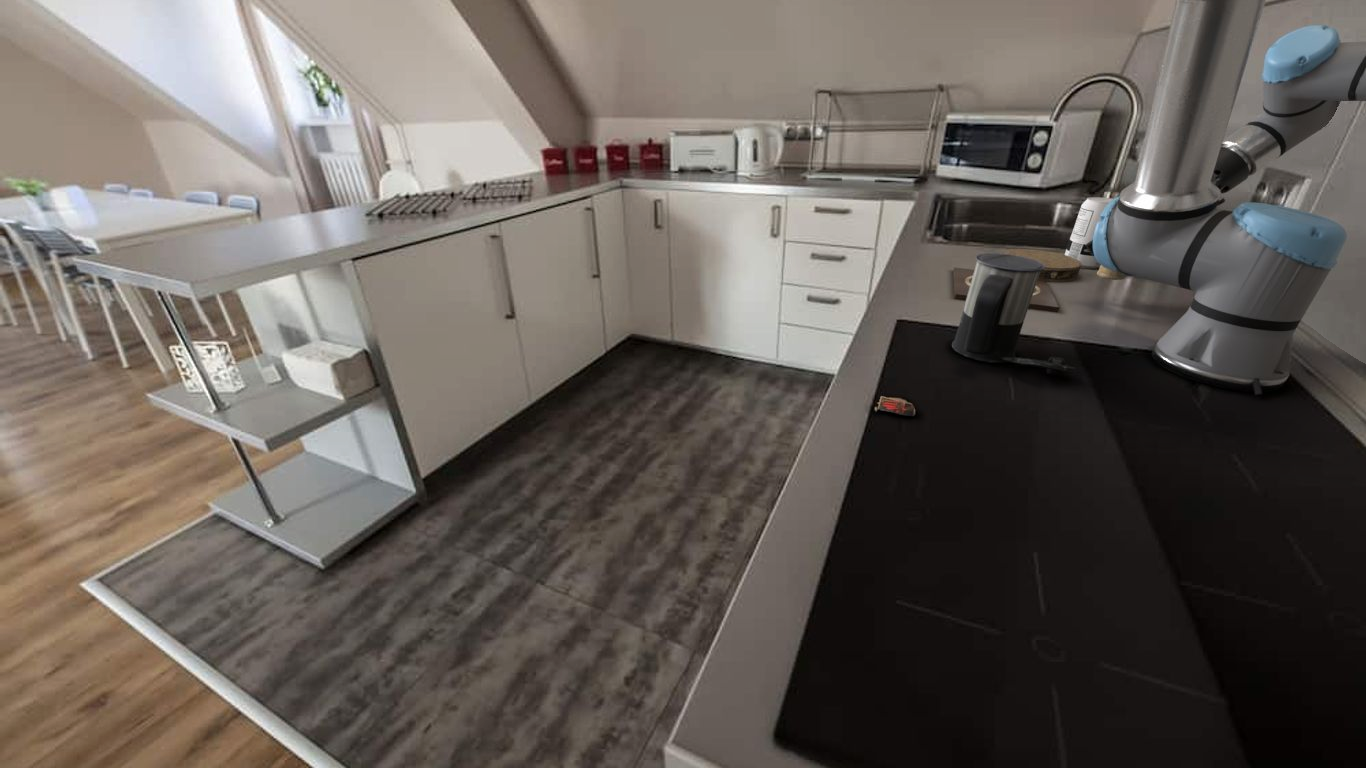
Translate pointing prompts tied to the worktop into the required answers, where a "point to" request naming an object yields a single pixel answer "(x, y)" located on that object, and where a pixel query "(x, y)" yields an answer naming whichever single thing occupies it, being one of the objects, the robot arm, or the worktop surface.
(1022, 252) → the brown round flat disc
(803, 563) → the worktop surface
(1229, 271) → the robot arm
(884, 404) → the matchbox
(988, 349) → the milk frother
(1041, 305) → the serving tray
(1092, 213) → the supplement can
